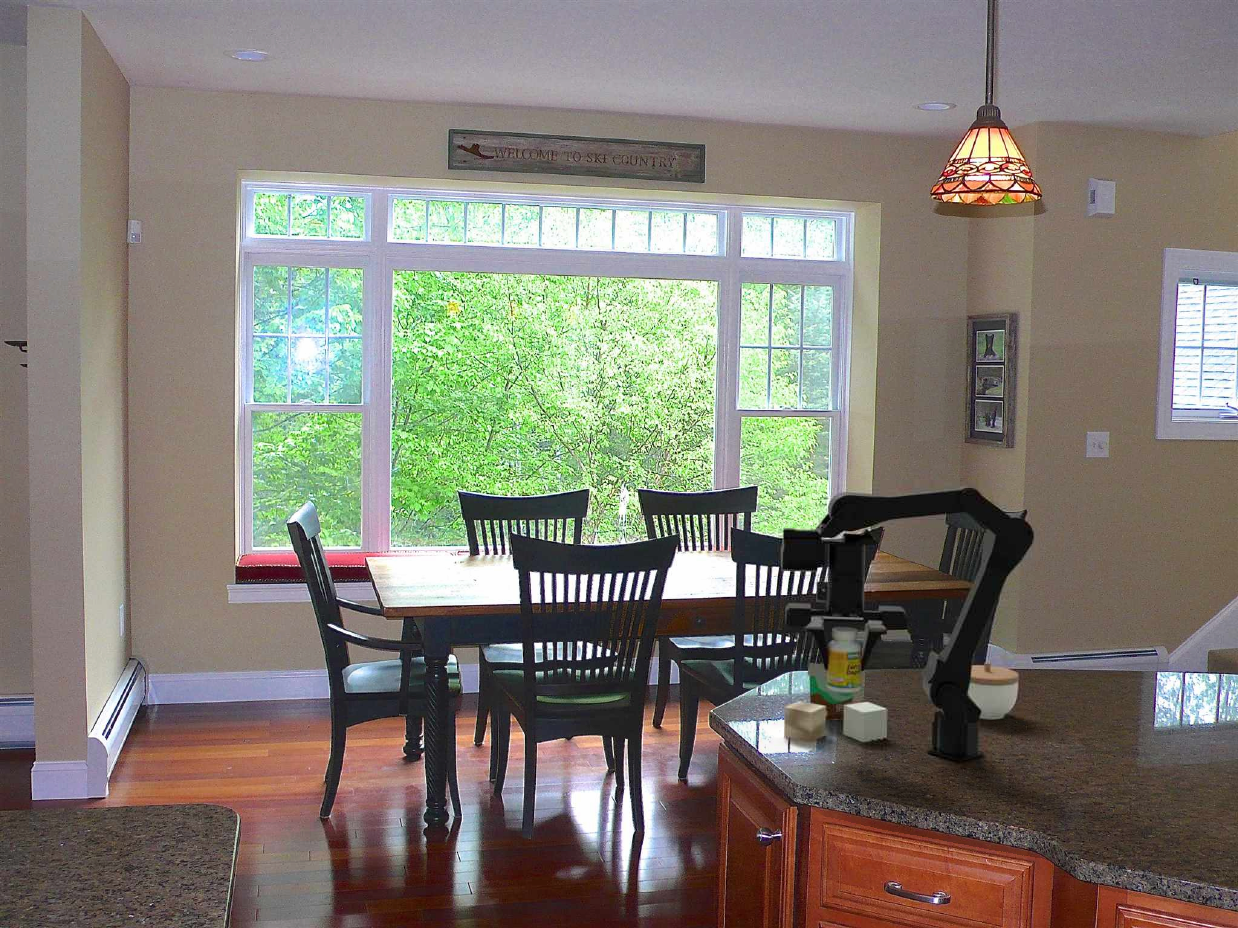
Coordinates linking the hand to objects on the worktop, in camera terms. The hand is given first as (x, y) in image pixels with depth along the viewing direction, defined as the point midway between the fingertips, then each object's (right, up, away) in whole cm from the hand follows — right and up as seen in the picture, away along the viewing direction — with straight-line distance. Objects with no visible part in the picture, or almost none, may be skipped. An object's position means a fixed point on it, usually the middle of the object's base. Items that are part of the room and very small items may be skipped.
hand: (844, 669), depth 185 cm
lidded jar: (+30, -12, +23) cm, 39 cm away
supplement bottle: (0, -3, 0) cm, 3 cm away
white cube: (+5, -13, +9) cm, 16 cm away
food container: (+3, -12, +21) cm, 24 cm away
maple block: (-5, -13, +8) cm, 16 cm away
